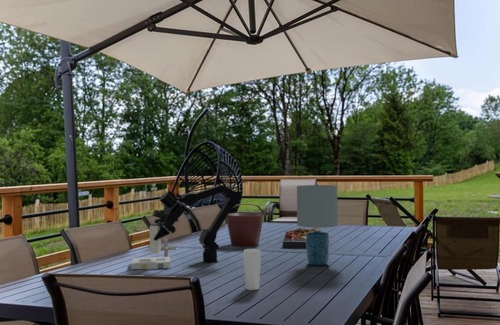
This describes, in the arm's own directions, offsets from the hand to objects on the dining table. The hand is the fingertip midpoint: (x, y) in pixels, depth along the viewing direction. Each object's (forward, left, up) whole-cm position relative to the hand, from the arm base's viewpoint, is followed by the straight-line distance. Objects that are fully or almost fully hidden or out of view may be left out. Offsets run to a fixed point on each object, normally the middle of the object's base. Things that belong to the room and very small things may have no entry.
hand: (152, 239), depth 231 cm
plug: (-1, 0, -7) cm, 7 cm away
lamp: (-78, +10, -13) cm, 80 cm away
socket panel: (+1, -3, -13) cm, 14 cm away
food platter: (-91, -57, -14) cm, 109 cm away
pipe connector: (-6, -23, -13) cm, 27 cm away
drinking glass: (-39, +50, -13) cm, 65 cm away
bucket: (-53, -56, -14) cm, 78 cm away
